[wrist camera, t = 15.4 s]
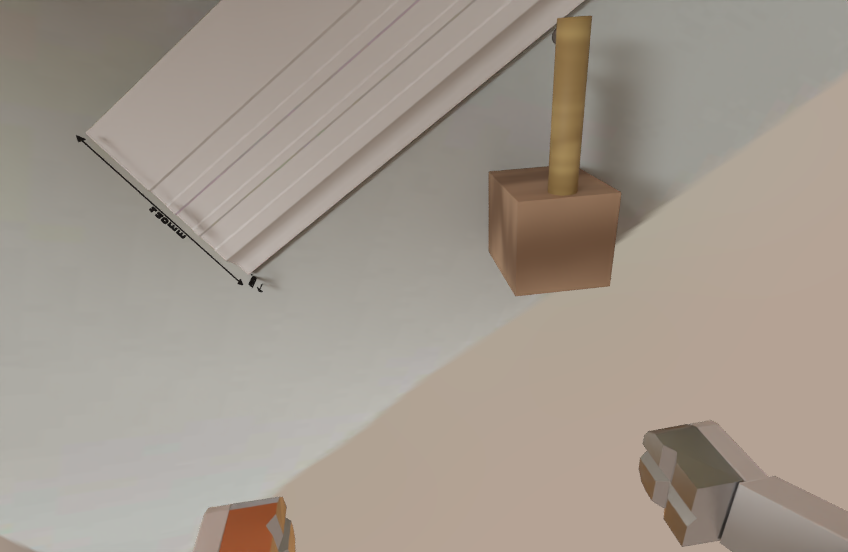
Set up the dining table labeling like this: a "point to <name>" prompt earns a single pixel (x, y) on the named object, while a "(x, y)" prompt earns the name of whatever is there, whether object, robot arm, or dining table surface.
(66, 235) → the dining table surface
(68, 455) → the dining table surface
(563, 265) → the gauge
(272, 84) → the baseboard molding
